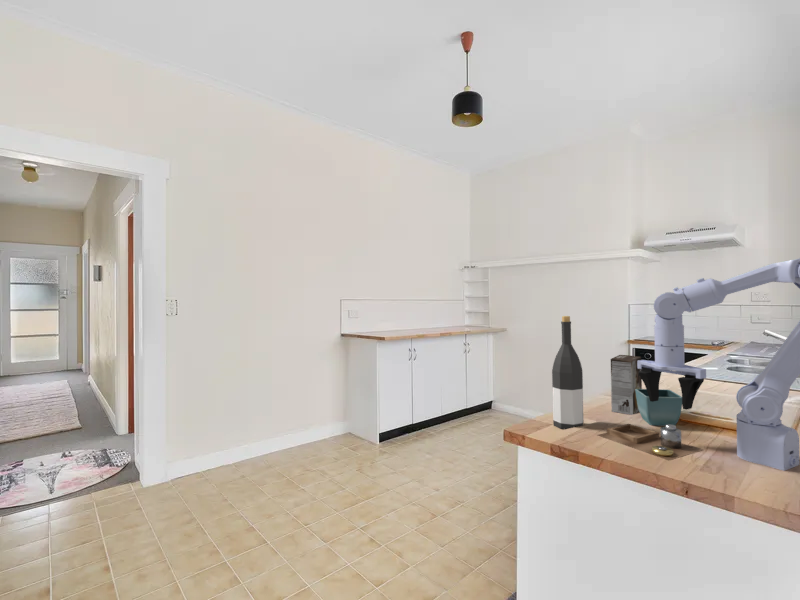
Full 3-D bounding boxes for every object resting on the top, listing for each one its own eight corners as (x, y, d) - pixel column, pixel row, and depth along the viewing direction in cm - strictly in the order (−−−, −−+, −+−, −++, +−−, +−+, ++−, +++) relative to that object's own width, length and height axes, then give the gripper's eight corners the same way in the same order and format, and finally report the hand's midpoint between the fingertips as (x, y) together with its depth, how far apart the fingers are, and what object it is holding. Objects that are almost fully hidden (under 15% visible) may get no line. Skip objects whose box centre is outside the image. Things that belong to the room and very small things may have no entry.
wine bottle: (547, 425, 117) (544, 316, 116) (562, 419, 122) (559, 315, 121) (575, 432, 111) (573, 317, 110) (589, 425, 116) (587, 315, 115)
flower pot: (684, 432, 109) (683, 397, 108) (646, 430, 110) (646, 396, 110) (670, 421, 117) (669, 389, 117) (635, 420, 119) (634, 388, 119)
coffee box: (620, 405, 135) (619, 354, 134) (643, 408, 130) (642, 356, 130) (610, 411, 128) (609, 358, 128) (634, 415, 124) (633, 360, 123)
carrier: (703, 454, 94) (703, 444, 94) (668, 465, 89) (668, 454, 89) (629, 431, 111) (629, 422, 111) (596, 439, 106) (596, 430, 106)
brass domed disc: (677, 454, 92) (677, 449, 92) (665, 458, 90) (665, 452, 90) (659, 448, 96) (659, 443, 96) (647, 452, 94) (647, 446, 94)
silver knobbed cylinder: (685, 446, 96) (685, 426, 96) (674, 449, 95) (673, 429, 95) (667, 441, 100) (667, 421, 100) (656, 444, 98) (656, 424, 98)
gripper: (628, 343, 102) (629, 399, 102) (691, 350, 89) (692, 415, 89) (647, 341, 105) (648, 396, 105) (711, 347, 92) (712, 410, 92)
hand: (670, 404), depth 97 cm, fingers open, 7 cm apart
